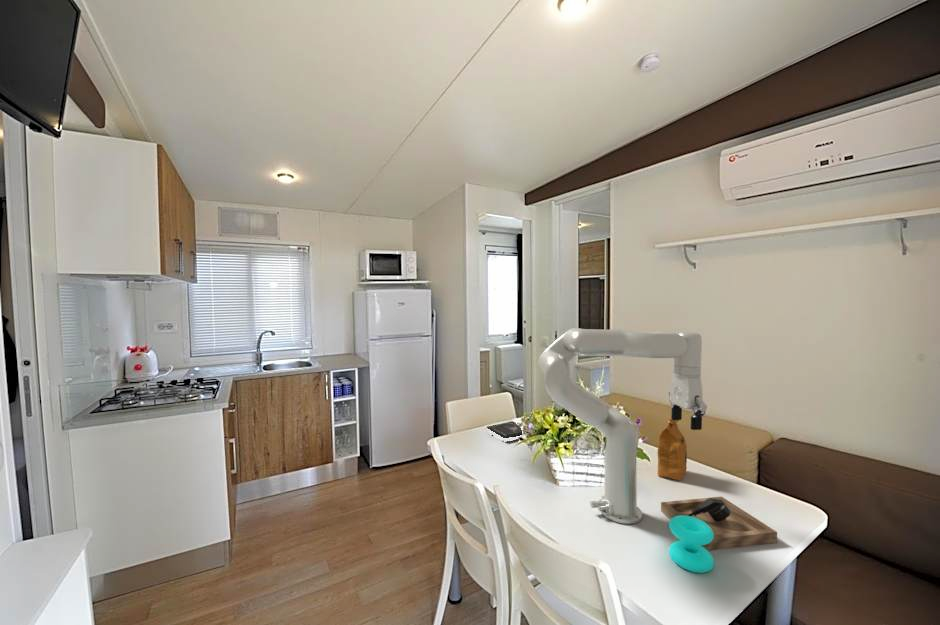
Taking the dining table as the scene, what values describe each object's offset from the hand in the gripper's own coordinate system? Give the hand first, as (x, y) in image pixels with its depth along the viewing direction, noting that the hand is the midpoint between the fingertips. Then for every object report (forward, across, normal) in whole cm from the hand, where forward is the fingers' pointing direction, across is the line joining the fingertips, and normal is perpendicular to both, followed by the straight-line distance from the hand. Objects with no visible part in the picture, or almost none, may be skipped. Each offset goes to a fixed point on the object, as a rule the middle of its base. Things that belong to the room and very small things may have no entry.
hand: (685, 424), depth 121 cm
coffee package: (+28, -25, +12) cm, 40 cm away
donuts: (+29, +22, -13) cm, 39 cm away
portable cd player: (+30, -77, -43) cm, 93 cm away
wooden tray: (+28, +8, +4) cm, 30 cm away
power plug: (+27, +7, +3) cm, 28 cm away
